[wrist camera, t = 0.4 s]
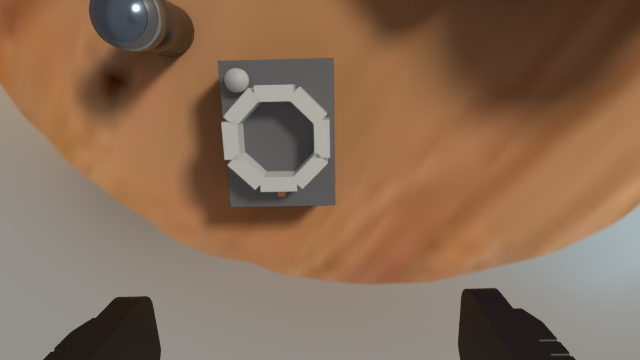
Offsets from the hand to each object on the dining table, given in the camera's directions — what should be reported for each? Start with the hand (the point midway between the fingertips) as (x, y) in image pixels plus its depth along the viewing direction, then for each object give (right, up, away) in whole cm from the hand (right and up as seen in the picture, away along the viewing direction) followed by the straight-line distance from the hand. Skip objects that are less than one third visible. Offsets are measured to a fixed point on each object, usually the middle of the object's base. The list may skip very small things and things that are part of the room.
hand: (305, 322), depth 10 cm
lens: (-13, +17, +23) cm, 32 cm away
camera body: (-3, +8, +25) cm, 27 cm away
